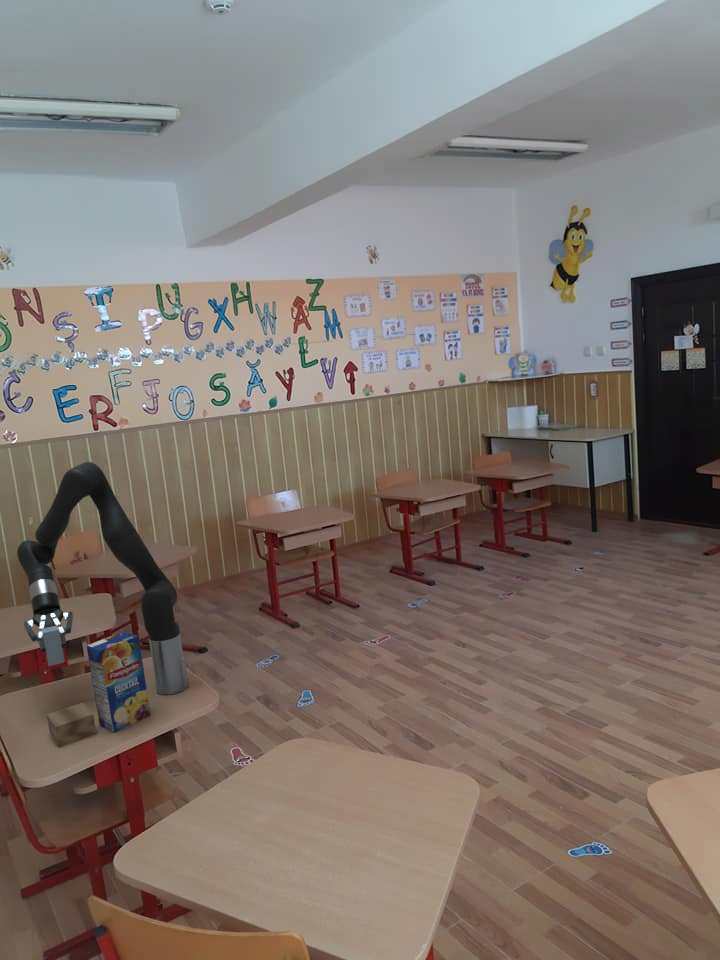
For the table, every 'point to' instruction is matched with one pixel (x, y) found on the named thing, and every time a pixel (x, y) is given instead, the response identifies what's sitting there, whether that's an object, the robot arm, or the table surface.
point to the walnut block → (71, 724)
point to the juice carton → (118, 681)
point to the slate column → (53, 645)
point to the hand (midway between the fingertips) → (54, 648)
